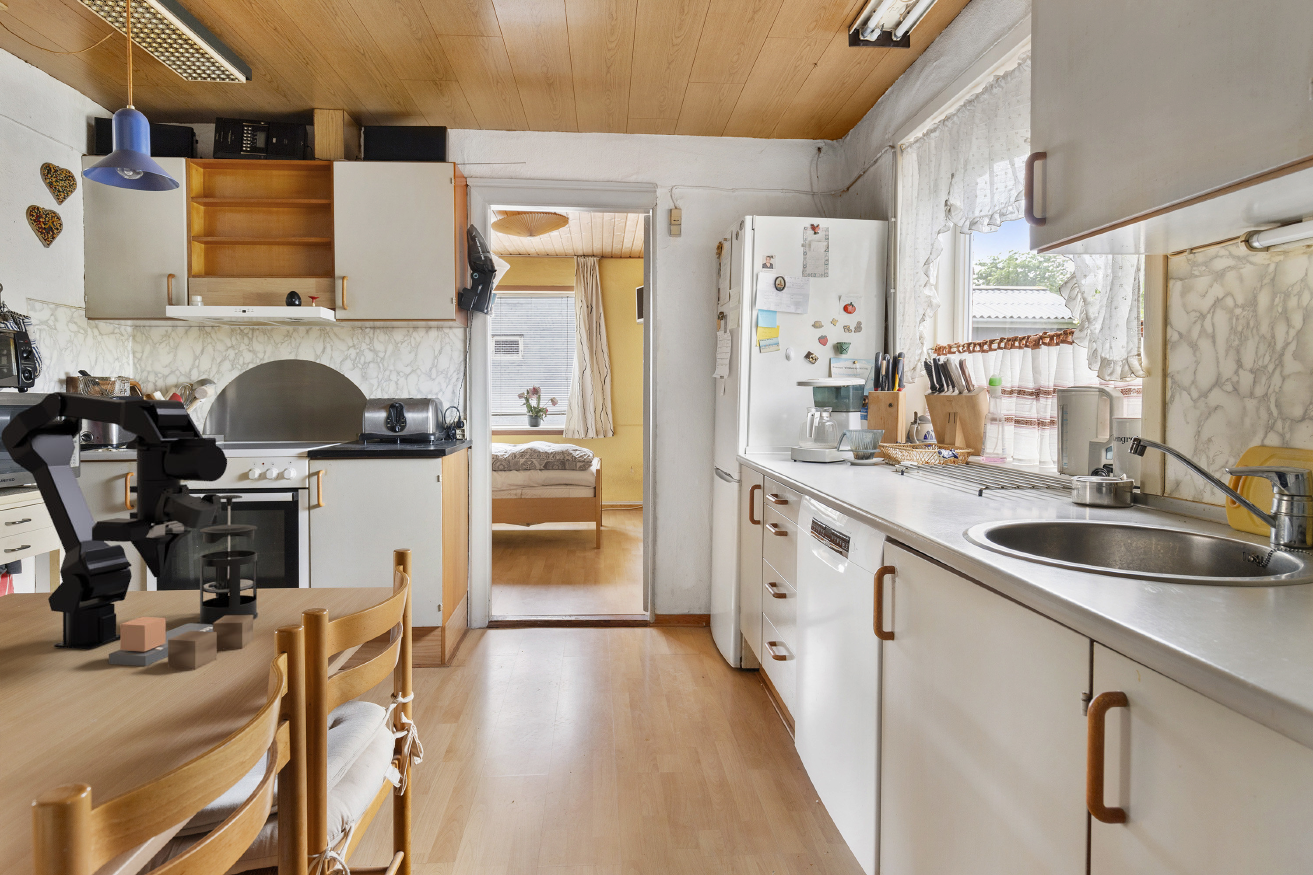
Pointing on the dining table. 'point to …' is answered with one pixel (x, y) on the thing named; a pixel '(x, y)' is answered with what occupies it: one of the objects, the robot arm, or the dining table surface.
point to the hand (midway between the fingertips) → (159, 576)
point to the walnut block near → (192, 650)
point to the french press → (228, 573)
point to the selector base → (157, 652)
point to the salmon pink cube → (143, 633)
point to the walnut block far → (234, 631)
